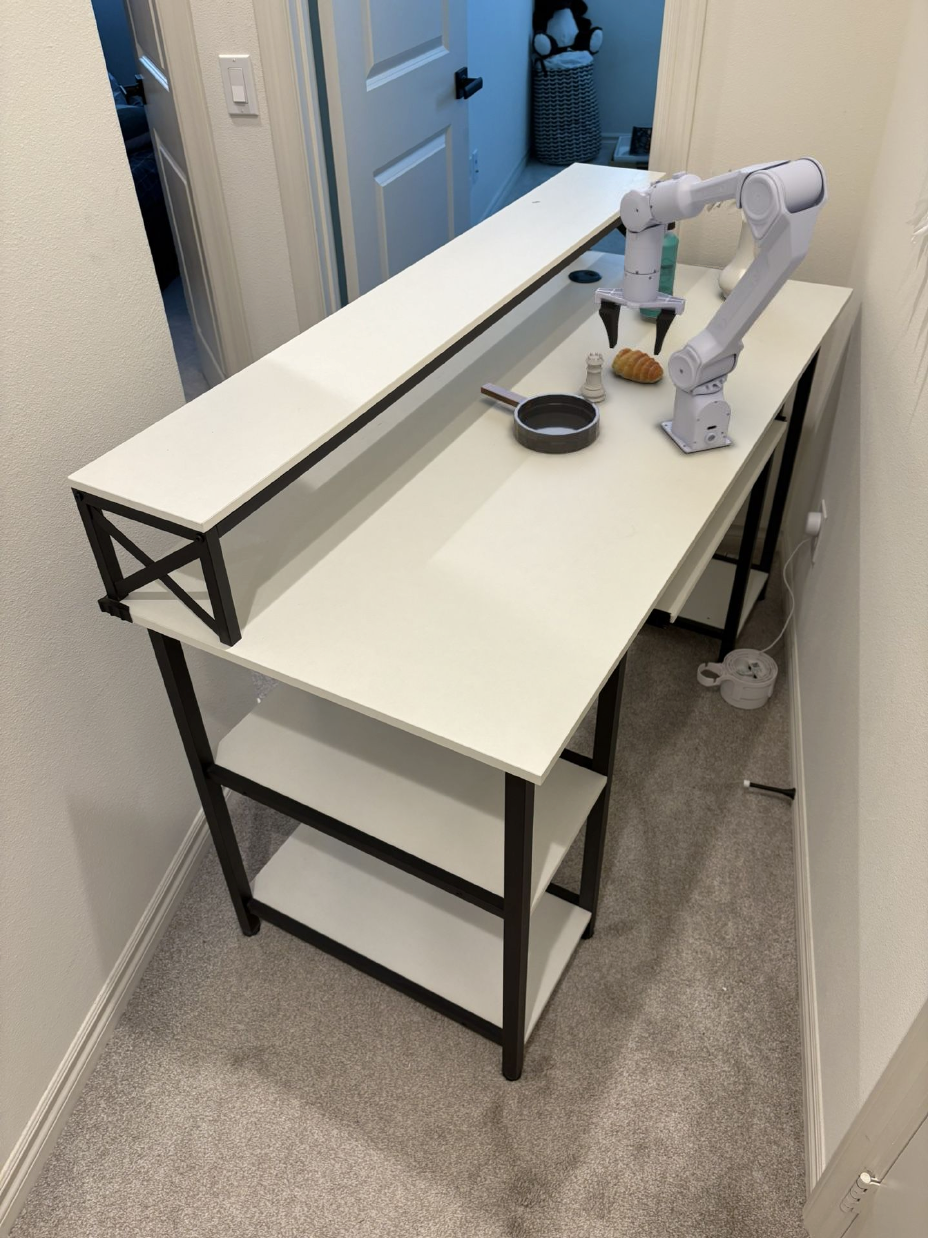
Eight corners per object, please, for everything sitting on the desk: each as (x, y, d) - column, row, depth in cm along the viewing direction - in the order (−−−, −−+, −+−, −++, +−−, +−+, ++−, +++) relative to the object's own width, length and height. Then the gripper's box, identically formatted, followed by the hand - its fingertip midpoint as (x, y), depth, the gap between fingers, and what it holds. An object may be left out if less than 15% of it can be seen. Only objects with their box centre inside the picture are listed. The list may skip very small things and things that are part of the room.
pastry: (670, 375, 162) (673, 356, 159) (648, 389, 158) (650, 369, 156) (629, 361, 167) (631, 341, 164) (606, 373, 164) (608, 354, 161)
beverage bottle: (631, 316, 182) (640, 213, 169) (659, 309, 184) (669, 207, 171) (649, 327, 178) (659, 223, 164) (677, 320, 179) (689, 216, 166)
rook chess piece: (585, 405, 155) (587, 362, 150) (576, 394, 158) (578, 351, 153) (609, 401, 156) (612, 358, 151) (599, 390, 159) (602, 347, 154)
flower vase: (703, 278, 195) (719, 154, 178) (787, 292, 187) (813, 163, 170) (681, 300, 187) (696, 171, 170) (768, 315, 179) (793, 182, 162)
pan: (611, 445, 145) (612, 425, 143) (529, 460, 143) (529, 441, 140) (580, 406, 155) (581, 387, 153) (503, 419, 153) (503, 400, 150)
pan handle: (531, 406, 151) (531, 399, 151) (523, 410, 150) (523, 404, 150) (489, 388, 157) (489, 382, 156) (480, 392, 156) (480, 386, 155)
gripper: (590, 271, 140) (586, 352, 149) (680, 282, 135) (671, 365, 144) (604, 256, 145) (599, 335, 154) (692, 266, 140) (682, 347, 149)
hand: (635, 349), depth 150 cm, fingers open, 7 cm apart
